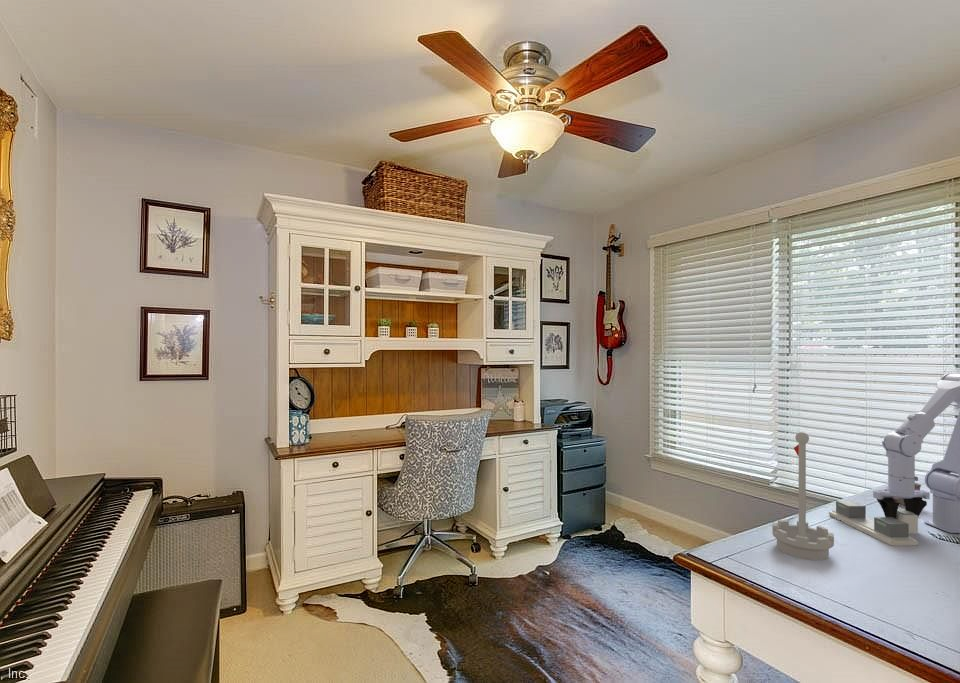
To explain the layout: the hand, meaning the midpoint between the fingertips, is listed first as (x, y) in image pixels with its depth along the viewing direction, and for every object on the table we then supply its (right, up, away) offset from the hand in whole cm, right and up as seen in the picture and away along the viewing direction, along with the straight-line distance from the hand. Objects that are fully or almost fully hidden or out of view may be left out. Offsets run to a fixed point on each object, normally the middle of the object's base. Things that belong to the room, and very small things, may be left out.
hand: (901, 524), depth 138 cm
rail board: (-9, -1, 0) cm, 9 cm away
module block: (0, -2, 0) cm, 2 cm away
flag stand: (-37, -2, -14) cm, 40 cm away
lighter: (+19, -2, +21) cm, 28 cm away
